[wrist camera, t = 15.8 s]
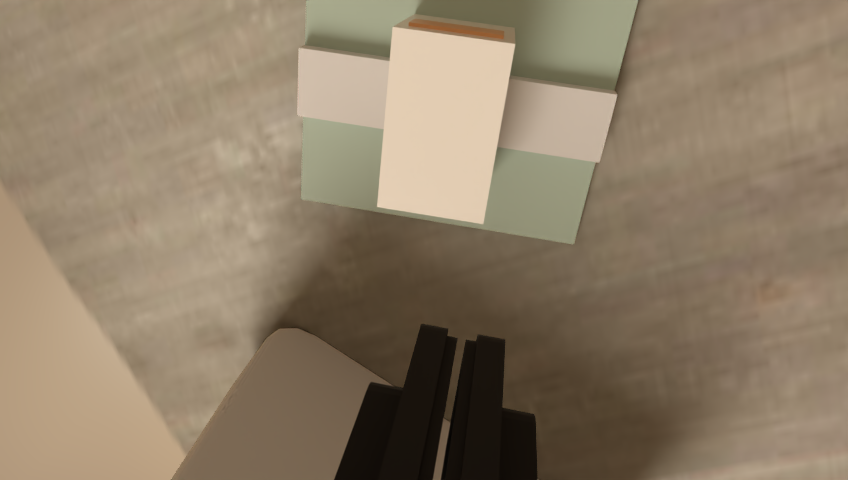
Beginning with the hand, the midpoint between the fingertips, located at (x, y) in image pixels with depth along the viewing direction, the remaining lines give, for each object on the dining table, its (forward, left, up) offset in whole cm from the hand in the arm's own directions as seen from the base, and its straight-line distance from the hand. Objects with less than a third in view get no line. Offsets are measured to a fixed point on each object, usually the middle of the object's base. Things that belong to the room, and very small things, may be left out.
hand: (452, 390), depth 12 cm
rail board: (+2, -1, -22) cm, 22 cm away
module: (+2, -1, -22) cm, 22 cm away
